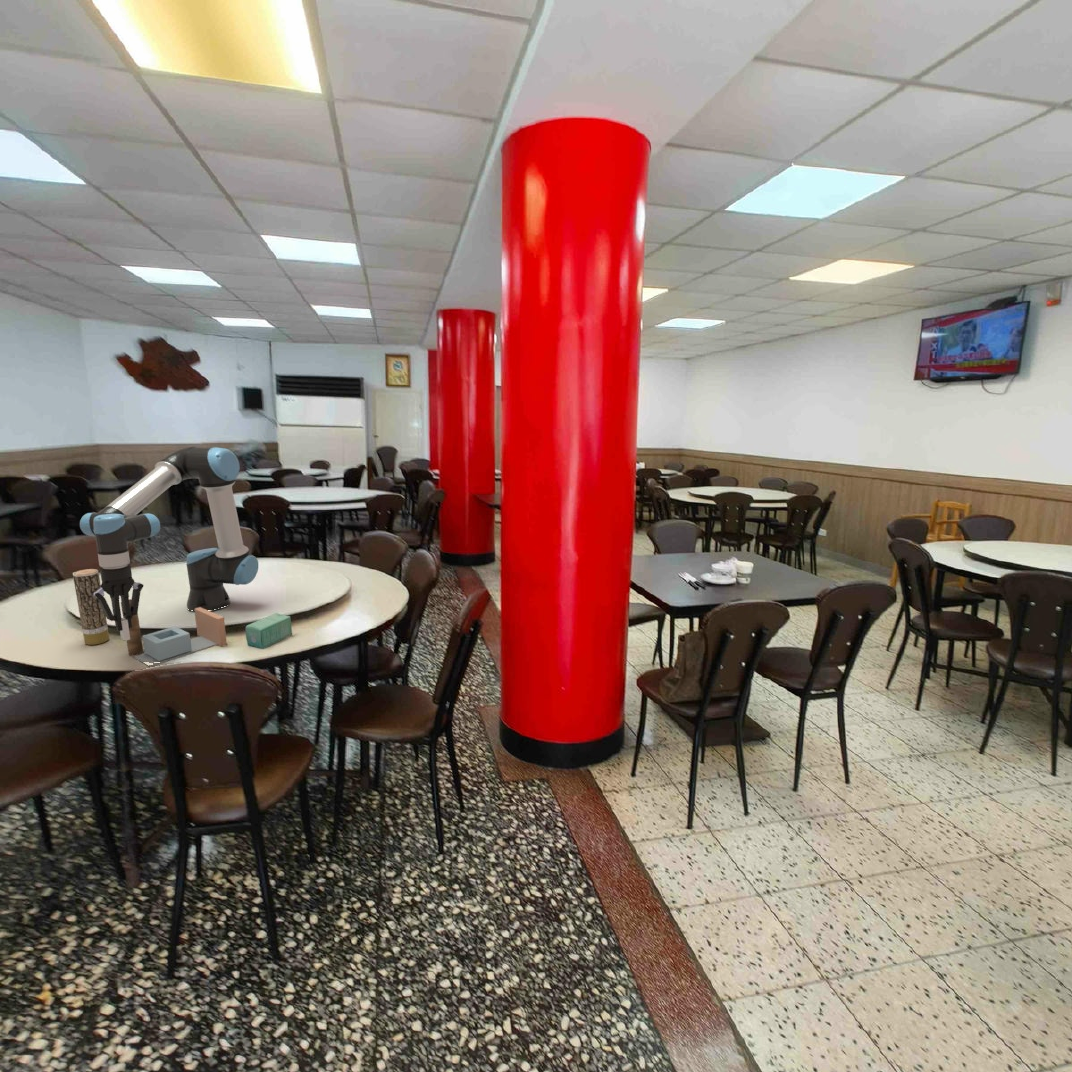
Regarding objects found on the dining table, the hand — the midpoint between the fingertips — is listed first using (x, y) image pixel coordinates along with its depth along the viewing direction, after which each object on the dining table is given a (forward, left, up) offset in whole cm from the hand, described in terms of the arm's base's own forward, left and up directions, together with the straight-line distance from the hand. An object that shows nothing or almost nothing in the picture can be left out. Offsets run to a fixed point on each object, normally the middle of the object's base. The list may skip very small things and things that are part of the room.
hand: (125, 639), depth 179 cm
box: (-37, +16, -10) cm, 42 cm away
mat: (-15, 0, -9) cm, 18 cm away
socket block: (-11, 0, -9) cm, 15 cm away
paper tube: (-1, -29, -10) cm, 31 cm away
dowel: (-5, -9, -9) cm, 14 cm away
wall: (-25, 0, -9) cm, 27 cm away
